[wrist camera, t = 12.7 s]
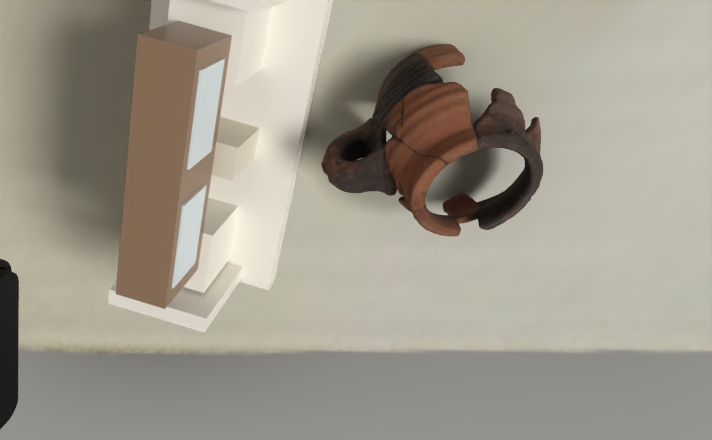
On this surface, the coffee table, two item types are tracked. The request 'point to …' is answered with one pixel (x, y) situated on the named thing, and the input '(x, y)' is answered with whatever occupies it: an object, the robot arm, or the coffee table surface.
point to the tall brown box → (170, 158)
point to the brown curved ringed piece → (434, 144)
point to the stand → (248, 144)
